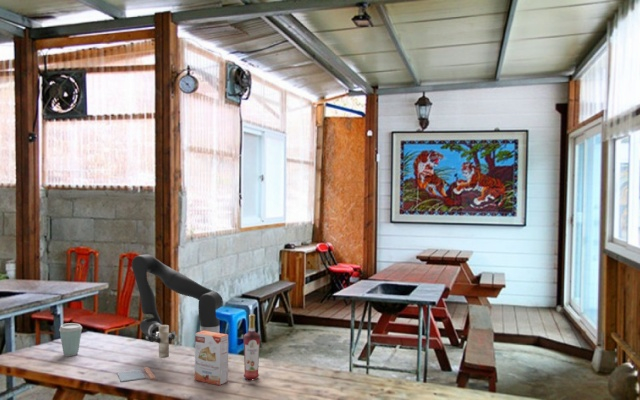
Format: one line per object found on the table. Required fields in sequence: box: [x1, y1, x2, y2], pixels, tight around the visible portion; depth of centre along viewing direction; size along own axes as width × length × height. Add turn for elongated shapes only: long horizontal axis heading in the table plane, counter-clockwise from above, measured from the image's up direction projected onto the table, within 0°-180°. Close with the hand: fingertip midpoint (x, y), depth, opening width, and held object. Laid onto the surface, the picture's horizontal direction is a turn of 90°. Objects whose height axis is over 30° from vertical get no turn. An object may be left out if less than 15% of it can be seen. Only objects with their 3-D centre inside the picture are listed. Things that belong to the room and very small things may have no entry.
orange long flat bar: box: [143, 366, 156, 380], centre depth 240 cm, size 2×16×1 cm, turn 28°
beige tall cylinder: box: [158, 324, 170, 359], centre depth 243 cm, size 4×4×14 cm
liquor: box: [243, 314, 261, 381], centre depth 235 cm, size 7×7×28 cm
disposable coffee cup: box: [58, 322, 83, 357], centre depth 268 cm, size 11×11×15 cm
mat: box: [116, 369, 146, 383], centre depth 236 cm, size 10×12×1 cm
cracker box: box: [194, 331, 229, 386], centre depth 231 cm, size 14×6×21 cm, turn 62°
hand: (164, 340), depth 241 cm, fingers closed on beige tall cylinder, 4 cm apart
